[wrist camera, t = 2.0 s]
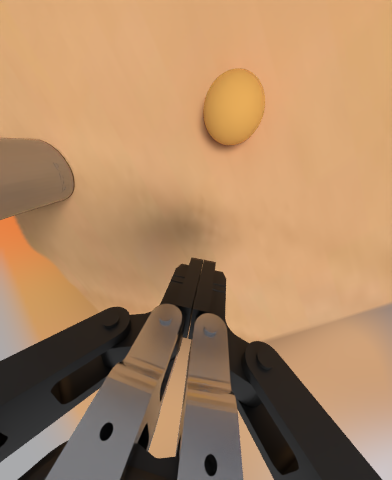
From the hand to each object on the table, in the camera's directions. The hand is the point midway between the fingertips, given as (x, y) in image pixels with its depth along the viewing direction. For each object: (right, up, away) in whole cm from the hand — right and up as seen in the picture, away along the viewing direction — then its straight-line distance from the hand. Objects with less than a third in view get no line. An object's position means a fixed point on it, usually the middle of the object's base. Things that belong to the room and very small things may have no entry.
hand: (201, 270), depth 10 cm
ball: (+3, +15, +6) cm, 17 cm away
